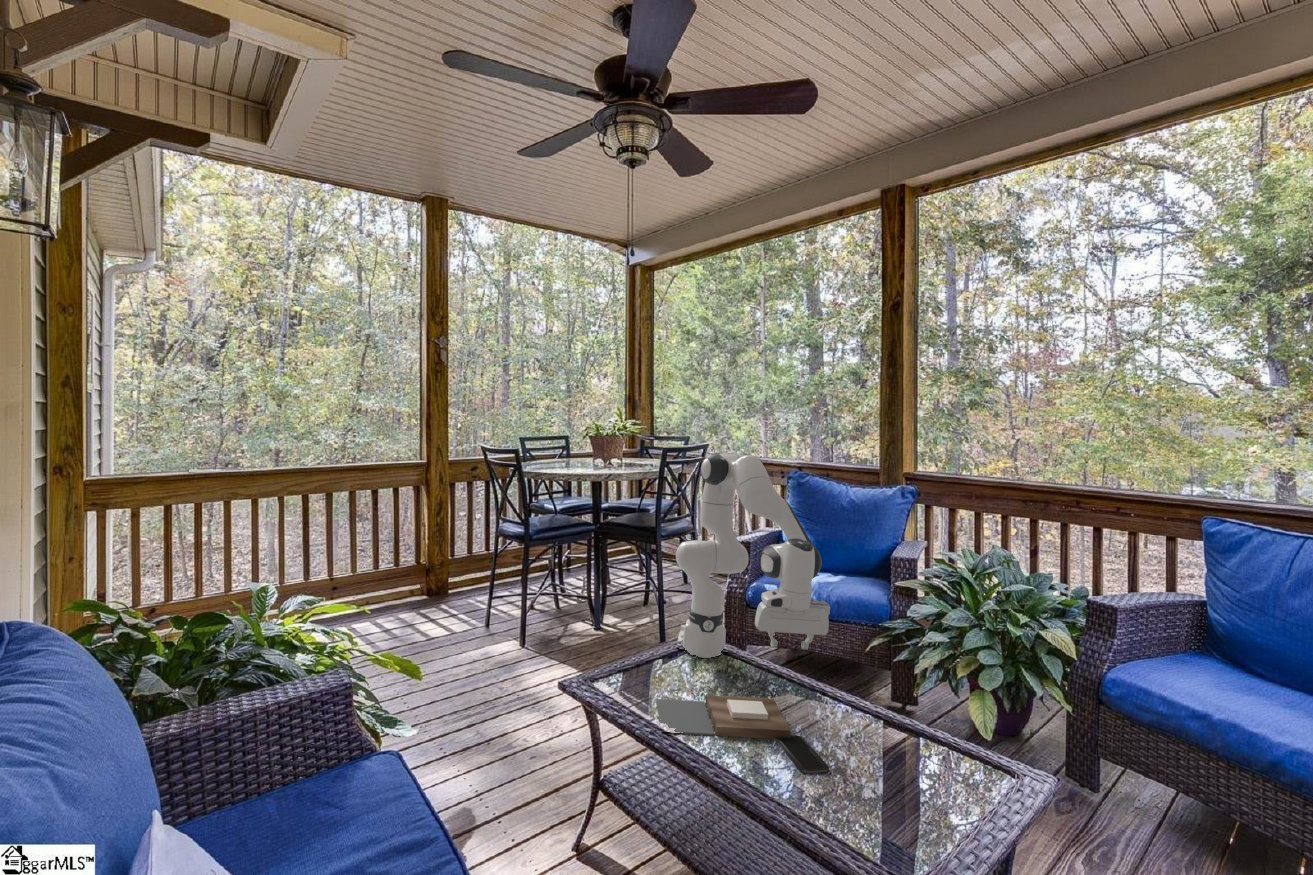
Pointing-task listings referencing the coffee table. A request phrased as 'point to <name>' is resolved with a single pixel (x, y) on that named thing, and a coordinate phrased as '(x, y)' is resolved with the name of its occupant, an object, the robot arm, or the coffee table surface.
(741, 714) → the tile
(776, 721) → the wooden board
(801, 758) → the phone
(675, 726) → the mat
